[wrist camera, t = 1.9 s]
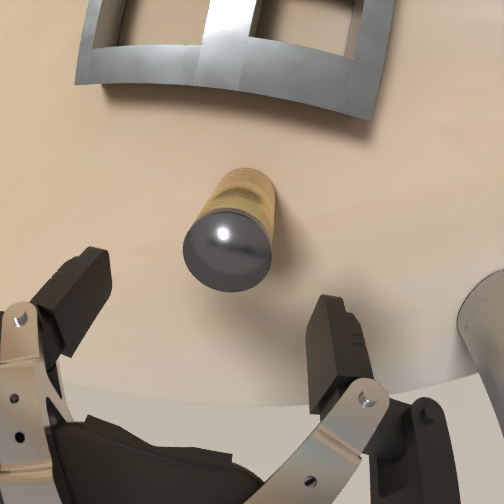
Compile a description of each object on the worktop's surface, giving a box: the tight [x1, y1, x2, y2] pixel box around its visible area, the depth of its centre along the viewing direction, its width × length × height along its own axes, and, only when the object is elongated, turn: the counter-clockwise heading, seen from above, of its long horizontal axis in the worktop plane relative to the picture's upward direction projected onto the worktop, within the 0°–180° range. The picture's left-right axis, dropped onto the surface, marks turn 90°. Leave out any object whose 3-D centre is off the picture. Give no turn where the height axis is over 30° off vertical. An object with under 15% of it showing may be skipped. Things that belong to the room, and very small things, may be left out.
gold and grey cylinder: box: [183, 168, 275, 292], centre depth 17 cm, size 4×4×8 cm
